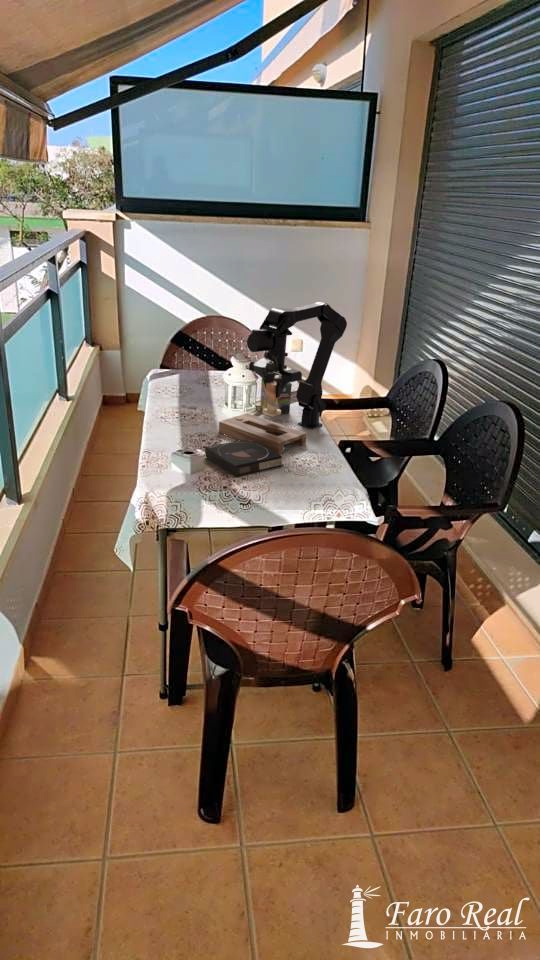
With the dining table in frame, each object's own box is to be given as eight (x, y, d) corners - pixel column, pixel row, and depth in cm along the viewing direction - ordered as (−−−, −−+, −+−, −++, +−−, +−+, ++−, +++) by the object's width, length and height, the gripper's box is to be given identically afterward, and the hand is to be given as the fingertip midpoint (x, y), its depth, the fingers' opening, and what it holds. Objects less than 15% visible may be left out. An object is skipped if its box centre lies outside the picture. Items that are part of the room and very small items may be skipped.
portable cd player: (235, 479, 192) (236, 466, 190) (205, 459, 204) (205, 446, 203) (281, 469, 201) (282, 456, 199) (249, 450, 213) (250, 438, 212)
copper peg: (271, 410, 227) (273, 380, 223) (280, 414, 225) (283, 383, 221) (262, 413, 224) (264, 382, 220) (272, 416, 222) (274, 385, 217)
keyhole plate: (246, 424, 235) (247, 412, 233) (305, 444, 220) (306, 432, 218) (218, 432, 225) (219, 420, 223) (278, 454, 210) (279, 442, 208)
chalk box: (282, 406, 257) (285, 368, 251) (290, 413, 249) (293, 374, 243) (259, 407, 254) (261, 368, 248) (266, 414, 246) (269, 375, 240)
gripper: (238, 346, 216) (235, 393, 222) (281, 358, 205) (277, 407, 211) (262, 342, 224) (258, 388, 230) (305, 354, 212) (300, 401, 219)
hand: (273, 396), depth 222 cm, fingers closed on copper peg, 4 cm apart
